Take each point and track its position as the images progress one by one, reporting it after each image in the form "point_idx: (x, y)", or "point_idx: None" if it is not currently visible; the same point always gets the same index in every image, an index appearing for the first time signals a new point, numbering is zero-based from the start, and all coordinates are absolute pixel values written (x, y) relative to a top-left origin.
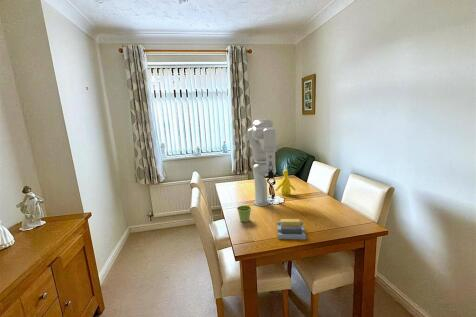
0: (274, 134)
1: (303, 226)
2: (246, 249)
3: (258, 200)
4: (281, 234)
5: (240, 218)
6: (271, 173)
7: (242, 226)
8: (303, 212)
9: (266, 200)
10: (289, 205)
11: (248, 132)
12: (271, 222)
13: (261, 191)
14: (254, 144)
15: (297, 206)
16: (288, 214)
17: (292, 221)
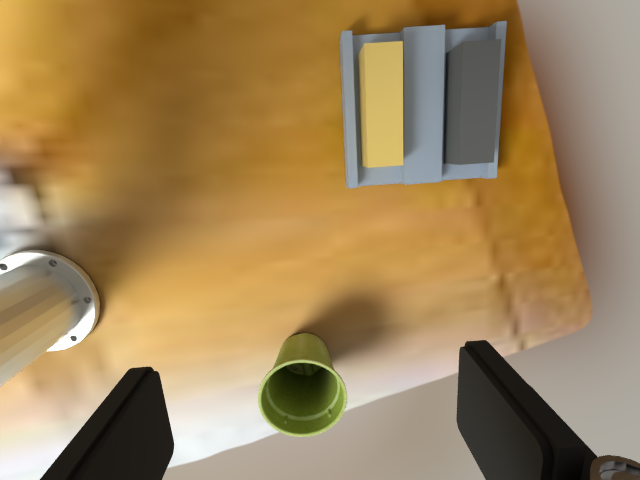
0: None
1: (404, 27)
2: (562, 302)
3: (65, 327)
4: (495, 160)
5: (323, 379)
6: (586, 464)
7: (369, 351)
8: (142, 11)
9: (38, 275)
10: (37, 110)
11: None
12: (314, 218)
13: (6, 342)
14: None
15: (41, 49)
16: (193, 120)
17: (400, 92)
